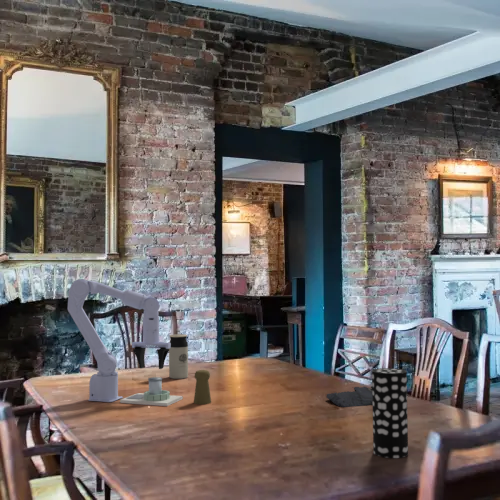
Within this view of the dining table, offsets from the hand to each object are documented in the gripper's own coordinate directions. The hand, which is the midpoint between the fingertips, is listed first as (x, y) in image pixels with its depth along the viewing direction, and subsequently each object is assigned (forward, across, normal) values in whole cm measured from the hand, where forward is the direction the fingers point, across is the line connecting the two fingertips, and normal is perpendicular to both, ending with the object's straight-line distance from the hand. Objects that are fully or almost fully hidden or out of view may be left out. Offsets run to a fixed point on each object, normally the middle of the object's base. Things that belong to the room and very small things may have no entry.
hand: (151, 368), depth 217 cm
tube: (+9, +4, -6) cm, 12 cm away
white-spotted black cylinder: (+11, +88, -44) cm, 99 cm away
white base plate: (+10, +3, -5) cm, 12 cm away
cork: (+11, +21, -3) cm, 24 cm away
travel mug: (+11, -8, +40) cm, 42 cm away
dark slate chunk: (+12, +72, +14) cm, 74 cm away
